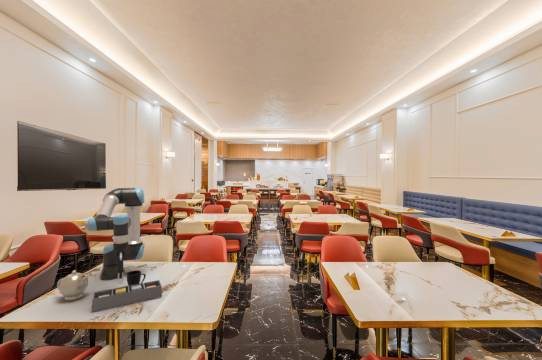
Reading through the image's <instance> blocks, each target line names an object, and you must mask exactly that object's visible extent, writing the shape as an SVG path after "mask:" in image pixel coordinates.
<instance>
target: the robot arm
mask: <svg viewBox="0 0 542 360" xmlns="http://www.w3.org/2000/svg"><path fill="white" fill-rule="evenodd" d="M120 204H121V205H124V208H126V214H117V215H114V216H113V217H112V214H113V212H114V210H115V208H116V206H117V205H120ZM143 204H145V194H144V189H143V188H140V187H118V188H114V189H112V190H111V191H109V192H108V193H106V194H105V195H104V197H103V199H102V203H101V205H100V208H99V210H98V211H97V214H96V215H95V217H90V218H88V220H87V222H86V223H87V224H86V227H87V230H88V231H90V232H99V231H113V233H112V234H113V235H112V236H113V237H111V239H112V240H113V243H111V244H107V245H105V246H104V247H103V249H102V268H101V271H100V273H99V279H100V280H101V281H102V280H103V281H109V280H110V281H111V280H115V279H116V280H117V285H121V284H122V285H123V284H124V276H125V271H126V270H125V268H124V261H126V262H127V261H136V260H141V259H142V258H143V256H144V252H145V247H146V246H145V243H144V242H143V240H142V239H141V208H142V206H143Z"/></svg>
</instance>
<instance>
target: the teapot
mask: <svg viewBox="0 0 542 360" xmlns="http://www.w3.org/2000/svg"><path fill="white" fill-rule="evenodd" d="M88 285H89V279H88V276H86V275H85V274H84V273H81V272H77V270H76V269H74V270H72V271H71V273H70V274H68V275H66V276H65V277H63V278H62V277H61V278H60V279H59V280H58V281H57V284H56V287H57V289H58V291H59V292H60V294H61V295H62V296H63V297H64V300H65V301H66V302H71V301H75V300H79V299H81V298H83V296H84V292H85V291H86V290H87V288H88Z"/></svg>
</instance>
